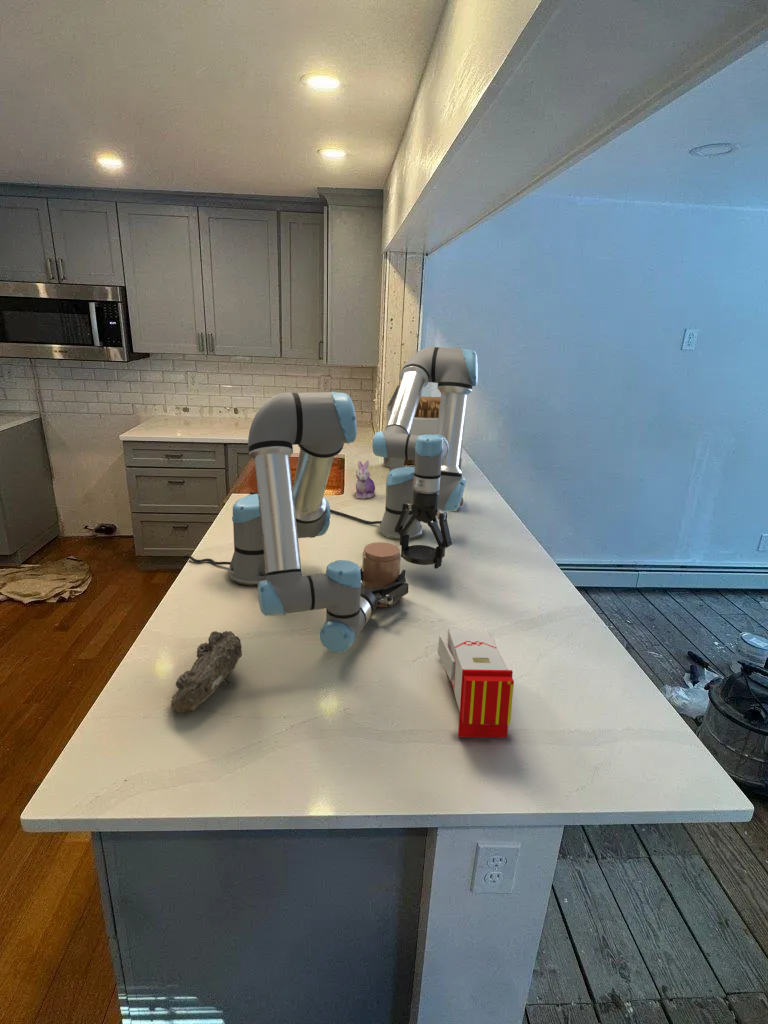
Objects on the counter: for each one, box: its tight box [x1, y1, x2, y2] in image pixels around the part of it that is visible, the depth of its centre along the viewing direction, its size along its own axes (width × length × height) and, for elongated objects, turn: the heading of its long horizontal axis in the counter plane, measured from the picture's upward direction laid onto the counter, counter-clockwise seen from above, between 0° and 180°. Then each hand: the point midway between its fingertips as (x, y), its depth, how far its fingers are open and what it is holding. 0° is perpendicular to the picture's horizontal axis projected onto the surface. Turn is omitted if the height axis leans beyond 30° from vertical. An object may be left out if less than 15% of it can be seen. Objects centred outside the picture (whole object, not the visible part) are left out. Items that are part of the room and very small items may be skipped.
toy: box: [437, 628, 515, 738], centre depth 117 cm, size 12×13×30 cm
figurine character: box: [456, 495, 464, 511], centre depth 230 cm, size 7×8×15 cm
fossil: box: [170, 630, 243, 713], centre depth 116 cm, size 22×10×15 cm
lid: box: [401, 544, 436, 566], centre depth 166 cm, size 11×11×2 cm
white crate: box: [383, 384, 465, 472], centre depth 268 cm, size 34×33×41 cm
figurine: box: [354, 460, 376, 500], centre depth 236 cm, size 9×10×15 cm
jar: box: [361, 541, 402, 608], centre depth 153 cm, size 10×10×15 cm
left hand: (385, 570), depth 157 cm, fingers closed on jar, 10 cm apart
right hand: (420, 561), depth 167 cm, fingers closed on lid, 11 cm apart
